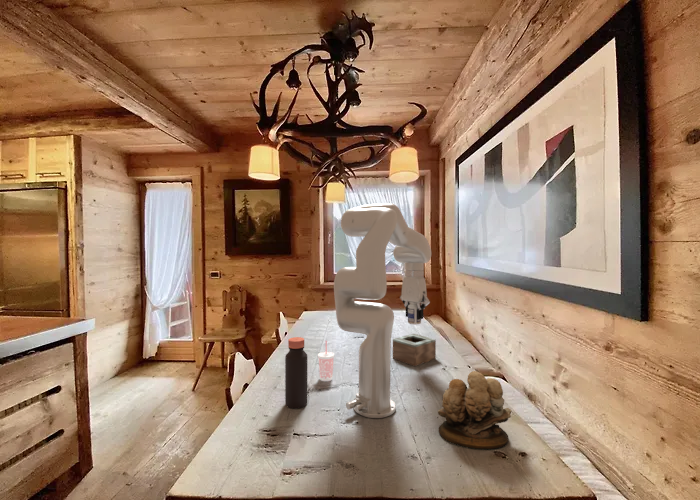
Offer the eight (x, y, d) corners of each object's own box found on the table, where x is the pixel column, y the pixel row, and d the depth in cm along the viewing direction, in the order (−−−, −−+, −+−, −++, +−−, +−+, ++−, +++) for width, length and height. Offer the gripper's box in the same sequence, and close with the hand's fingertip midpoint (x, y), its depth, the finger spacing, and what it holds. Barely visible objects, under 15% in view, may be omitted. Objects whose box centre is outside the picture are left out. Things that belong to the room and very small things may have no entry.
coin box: (414, 366, 133) (414, 345, 133) (392, 358, 142) (392, 338, 142) (435, 358, 142) (435, 339, 142) (413, 351, 151) (414, 333, 151)
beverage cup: (314, 379, 119) (314, 341, 119) (324, 374, 125) (324, 337, 124) (328, 383, 116) (328, 344, 116) (337, 377, 122) (337, 339, 121)
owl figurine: (502, 426, 89) (504, 363, 89) (520, 453, 78) (521, 382, 77) (435, 421, 91) (436, 360, 91) (442, 447, 80) (443, 378, 79)
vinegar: (311, 400, 103) (311, 337, 103) (300, 410, 97) (300, 343, 97) (292, 397, 106) (292, 335, 105) (281, 406, 99) (280, 341, 99)
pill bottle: (419, 321, 139) (419, 298, 138) (422, 324, 133) (422, 300, 133) (406, 321, 138) (406, 298, 138) (409, 325, 133) (409, 301, 133)
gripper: (392, 273, 140) (393, 315, 140) (425, 276, 126) (425, 323, 127) (404, 272, 144) (405, 312, 145) (437, 275, 131) (437, 320, 131)
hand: (414, 317), depth 136 cm, fingers closed on pill bottle, 5 cm apart
